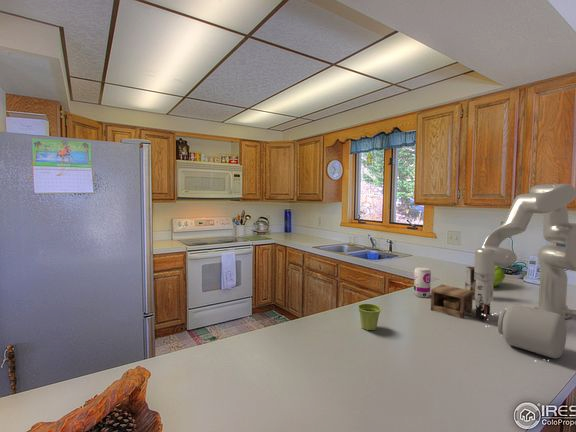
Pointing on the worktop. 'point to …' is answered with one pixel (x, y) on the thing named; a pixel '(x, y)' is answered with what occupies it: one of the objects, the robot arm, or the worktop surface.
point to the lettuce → (498, 275)
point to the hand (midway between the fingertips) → (482, 315)
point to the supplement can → (422, 282)
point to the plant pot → (369, 315)
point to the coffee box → (470, 280)
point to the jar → (533, 330)
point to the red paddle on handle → (455, 306)
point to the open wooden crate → (453, 293)
